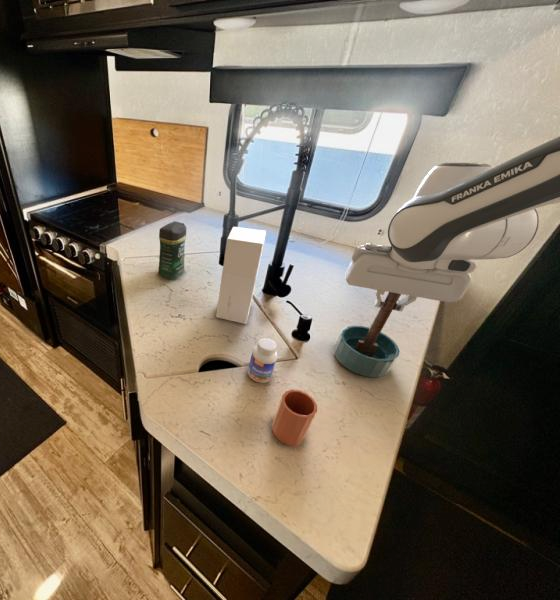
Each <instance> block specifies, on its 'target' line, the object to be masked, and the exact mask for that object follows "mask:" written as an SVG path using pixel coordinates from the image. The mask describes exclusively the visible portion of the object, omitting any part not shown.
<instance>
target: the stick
mask: <svg viewBox="0 0 560 600" xmlns="http://www.w3.org/2000/svg"><path fill="white" fill-rule="evenodd" d="M401 296H402V294H398V293H392V292H387V293H386V296H385V297H384V299H385V301H386V303H385V305H383V306H384V307H383V308H380V307H379V310H378V311H377V313H376V315H375V317H374V319H373V321H372V323H371V325H370V327H369V328H370V329H369V331H368V333H367V335H366V337H365V339H364V341H363V340H358V342H357V344H356V346H355V348H354V350H356V351H357V352H359V353H361V354H363V355H366V356H368V357H372V356H373V355H374V353H375V351H376V349H377V348H378V344H376V343H375V341H376V340H377V338H378V336H379V334H380V332H382V331H383V329H384V327H385V325H386V323H387V321H388V319H389V317H390V316H391V314H392V312H393V311H394V310H393V308H394V307H395V305H396V303H397V301H398V300H399V299H400V297H401Z"/></svg>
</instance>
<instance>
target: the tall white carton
mask: <svg viewBox="0 0 560 600" xmlns="http://www.w3.org/2000/svg"><path fill="white" fill-rule="evenodd" d="M266 236H267V231H266V230H261V229H254V228H247V227H240V226H232V228H231V230H230V232H229V234H228V236H227V238H226V244H225V250H224V259H223V266H222V272H221V278H220V284H219V285H220V286H219V293H218V301H217V308H216V318H217V319H222V320H227V321H230V322H234V323H235V322H236V323H240V324H243V325H246V324H247V323H248V319H249V314H250V312H251V306H252V301H253V297H254V294H255V293H254V292H255V287H256V283H257V279H258V274H259V269H260V264H261V259H262V254H263V250H264V244H265V239H266Z"/></svg>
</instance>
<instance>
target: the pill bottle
mask: <svg viewBox="0 0 560 600" xmlns="http://www.w3.org/2000/svg"><path fill="white" fill-rule="evenodd" d="M277 349H278V344H277V343H276V341H274V340H273V339H271V338H266V337H264V338H261V339H259V340H258V342H257V345H255V346H254V347H253V349H252V352H251V356H250V360H249V365H248V368H247V374H248V377H249V378H250V379H252V380H253V381H254V382H257V383H261V384H262V383H267V382H269V381H270V379H271V378H272V375H273V372H274V370H275V366H276V364H277V360H278V353H277Z"/></svg>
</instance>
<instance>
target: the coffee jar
mask: <svg viewBox="0 0 560 600" xmlns="http://www.w3.org/2000/svg"><path fill="white" fill-rule="evenodd" d="M186 239H187V226H186V225H185V223H183V222H180V221H175V220H174V221H172V222H169V223H167V224H165V225H164V226H161V227H160V228H159V233H158V240H159V257H158V259H159V260H158V275H159V277H161V278H163V279H166V280H176V279H178V278H179V277H180V276H182V274H183V273H185V248H186V247H185V245H186Z"/></svg>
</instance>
